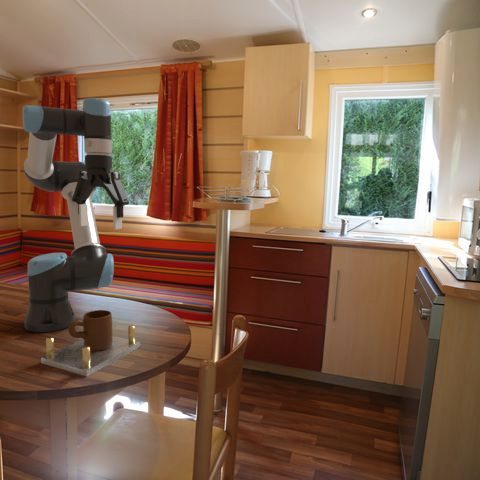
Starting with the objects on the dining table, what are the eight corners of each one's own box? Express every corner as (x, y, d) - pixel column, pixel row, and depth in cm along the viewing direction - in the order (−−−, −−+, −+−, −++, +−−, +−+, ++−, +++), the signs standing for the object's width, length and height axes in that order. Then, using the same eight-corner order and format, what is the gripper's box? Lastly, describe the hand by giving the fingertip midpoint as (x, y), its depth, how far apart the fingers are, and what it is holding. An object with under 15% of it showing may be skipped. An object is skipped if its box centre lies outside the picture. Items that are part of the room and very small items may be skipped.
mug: (76, 359, 103) (74, 324, 101) (63, 351, 108) (61, 317, 106) (118, 346, 112) (117, 314, 110) (104, 338, 117) (103, 308, 115)
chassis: (41, 363, 104) (40, 339, 103) (98, 337, 122) (97, 316, 121) (86, 376, 97) (85, 351, 96) (140, 346, 115) (139, 325, 114)
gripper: (57, 154, 118) (60, 225, 121) (122, 153, 107) (123, 231, 110) (77, 155, 124) (80, 223, 127) (140, 155, 113) (141, 229, 117)
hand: (100, 227), depth 119 cm, fingers open, 13 cm apart
